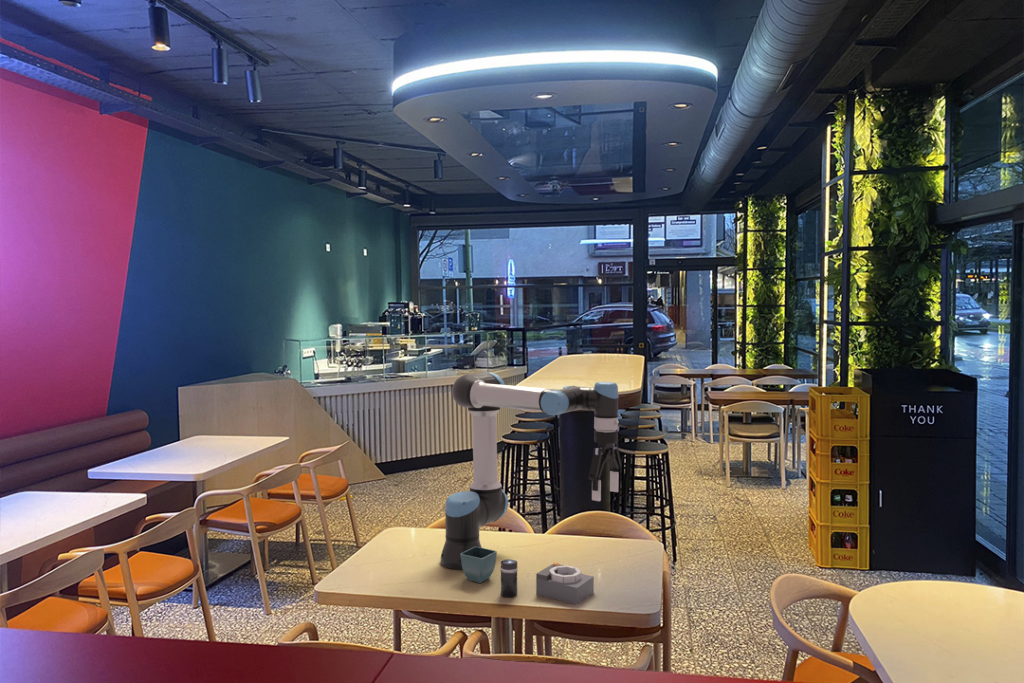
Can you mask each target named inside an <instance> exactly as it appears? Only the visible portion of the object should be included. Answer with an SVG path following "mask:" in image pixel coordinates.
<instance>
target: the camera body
mask: <svg viewBox="0 0 1024 683" xmlns="http://www.w3.org/2000/svg"><path fill="white" fill-rule="evenodd" d="M535 576H536V579H535V583H536V584H535V585H536V586H535V588H536V589H535V590H536V591H535V595H536V596H540V597H545V598H549V599H552V600H557V601H560V602H564V603H569V604H573V605H576V606H577V605H578V604H580V603H581V602H582V601H584V600H585V599H587V598H588V597H589V596H591V595H592V594H594V590H595V589H594V587H595V583H594V581H595V580H594V579H595V577H594V576H593V575H588V574H585V573H584V574H583V573H582V571H581V570H580V569H579V567H575V566H570V565H564V564H561V563H560V564H559V563H558V562H553V563H552V564H550V565H548V566H546V567H545V568H543V569H542V570H540V571H539V572H537V573H536V574H535Z"/></svg>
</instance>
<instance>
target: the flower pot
mask: <svg viewBox="0 0 1024 683" xmlns="http://www.w3.org/2000/svg"><path fill="white" fill-rule="evenodd" d="M481 547H482V546H481ZM481 547H473V548H471V549H469V550H467V551H465V552H463V553H461V554H460V556H461V563H462V569H463V570H462V572H463V574H464V576H465V577H466V579H467V580H468V581H472V582H475V583H483V582H485V581H487V580H488V579H490V578H491V576H492V574H493V573H494V570H495V567H496V561H497V560H496V559H497V550H494V549H490V548H489V549H488V548H484V547H482V548H481Z"/></svg>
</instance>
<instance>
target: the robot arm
mask: <svg viewBox="0 0 1024 683" xmlns="http://www.w3.org/2000/svg"><path fill="white" fill-rule="evenodd" d="M451 394H452V398H453V400H454V402H455V403H456V404H457V405H458V406H460V407H462V408H467V411H468V412H469V414H470V415H471V416H472V418H471V420H472V421H471V422H472V456H473V457H472V458H473V459H472V460H473V468H472V469H473V482H471V484H469V491H468V490H467V491H466V490H464V491H458V492H454V493H452V494H451V495H449V496H448V497H447V498H446V501H445V508H444V512H445V516H444V518H445V541H444V545H443V546H442V551H441V553H440V554H441V555H440V564H441V566H442V567H444V568H447V569H451V570H459V571H460V570H462V571H463V569H462V563H461V556H460V554H461V553H463V552H465V551H467V550H469V549H471V548H473V547H481V548H483V547H482V544H481V541H480V527H483V526H485V525H488V524H491V523H494V522H497V521H498V520H500V519H501V518H502V517H504V515H506V512H507V510H508V508H509V498H508V494H506V493H505V491H504V489H502V488H503V486H502V484H501V482H500V481H499V480H498V445H497V443H498V442H497V440H498V439H497V437H498V436H497V434H498V433H497V414H498V413H499V412H500V411H501V408H503V409H510V410H511V409H514V410H521V411H522V410H523V411H532V412H541V413H545V414H546V415H549V416H559V415H563V414H566V413H567V414H568V413H571V412H575V411H579V410H580V411H590V412H594V416H593V418H594V420H593V423H594V424H593V428H594V431H593V433H594V434H593V437H594V438H593V441H594V442H595V443H596V444H598V447H593V450H592V458H591V463H590V467H589V468H590V469H589V472H588V480H591V501H595V502H601V500H602V492H601V491H602V480H601V476H602V472H603V469H604V467H605V463H608V464H609V468H610V471H609V492H614V493H619V476H620V475H619V473H621V472H622V471H623V470H622V467H623V466H622V460H621V456H620V452H619V451H620V450H619V442H618V441H619V437H618V436H619V435H618V434H619V432H618V429H619V428H618V427H619V425H618V424H619V423H620V422H619V386H618V383H616V382H612V381H598V382H595V383H594V387H587V386H586V387H585V386H578V385H577V386H576V385H566V386H563V387H562V389H555V388H554V389H553V388H543V387H529V386H519V385H509V384H507V385H506V384H505V382H504V380H503V379H502V377H501V376H500V375H499V374H497V373H495V372H477V373H470V374H464V375H461V376H460V377H458V378H456V380H455V381H454V383H453V385H452V388H451Z"/></svg>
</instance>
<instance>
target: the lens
mask: <svg viewBox="0 0 1024 683" xmlns="http://www.w3.org/2000/svg"><path fill="white" fill-rule="evenodd" d="M518 569H519V567H518V561H517V560H515V559H513V558H512V559H511V558H508V559H503V560H501V561H500V596H501V597H503V598H507V599H510V598H515V597H517V596H518V571H519V570H518Z"/></svg>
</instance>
